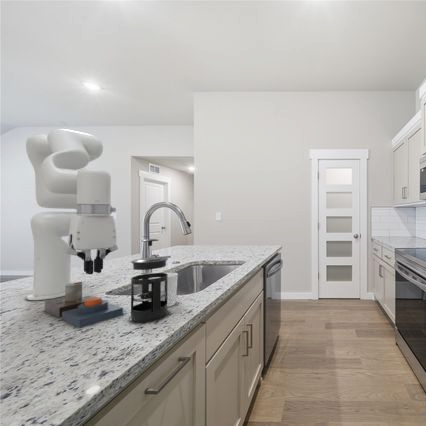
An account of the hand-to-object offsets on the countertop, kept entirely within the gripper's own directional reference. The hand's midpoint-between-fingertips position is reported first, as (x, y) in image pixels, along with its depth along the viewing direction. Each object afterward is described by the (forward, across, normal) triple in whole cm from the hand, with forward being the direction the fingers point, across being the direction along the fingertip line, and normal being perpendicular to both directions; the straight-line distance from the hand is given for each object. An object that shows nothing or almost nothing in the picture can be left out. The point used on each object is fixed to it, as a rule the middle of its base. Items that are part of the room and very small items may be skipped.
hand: (93, 272), depth 75 cm
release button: (+10, 0, 0) cm, 10 cm away
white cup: (+13, -16, +8) cm, 22 cm away
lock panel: (+13, 0, -14) cm, 19 cm away
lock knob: (+10, 0, -14) cm, 17 cm away
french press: (+13, -8, +15) cm, 22 cm away
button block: (+13, 0, 0) cm, 13 cm away
